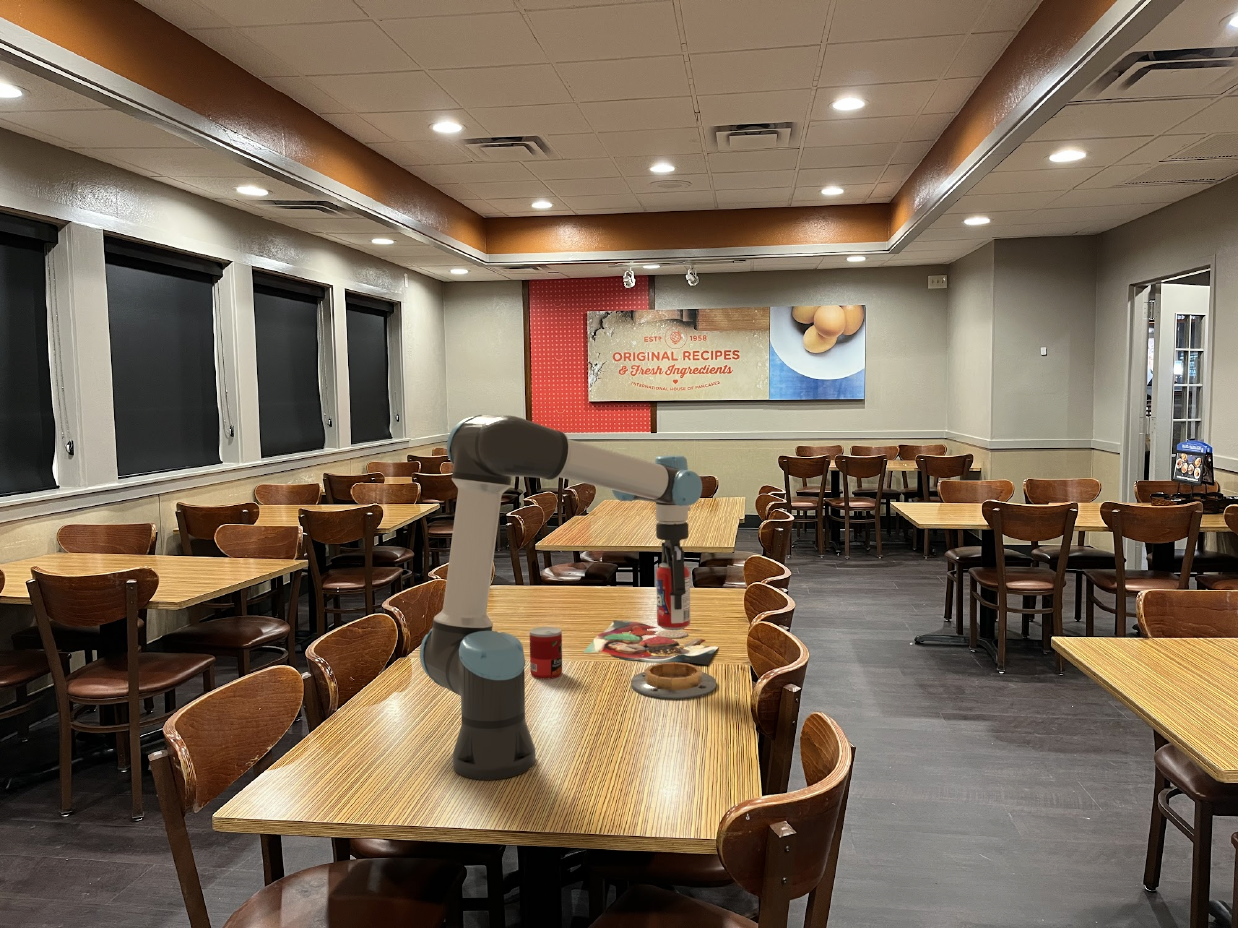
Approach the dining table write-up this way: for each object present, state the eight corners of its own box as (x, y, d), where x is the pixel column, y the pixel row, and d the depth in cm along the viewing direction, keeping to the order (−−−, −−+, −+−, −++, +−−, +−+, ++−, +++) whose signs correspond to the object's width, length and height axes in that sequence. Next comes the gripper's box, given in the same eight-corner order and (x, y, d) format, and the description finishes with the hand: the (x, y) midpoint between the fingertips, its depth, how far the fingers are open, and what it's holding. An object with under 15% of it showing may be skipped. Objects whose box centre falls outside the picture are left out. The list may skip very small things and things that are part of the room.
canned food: (557, 679, 208) (557, 635, 207) (526, 678, 209) (525, 633, 208) (566, 670, 215) (565, 627, 214) (535, 668, 217) (534, 625, 216)
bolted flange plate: (726, 696, 194) (726, 681, 194) (638, 701, 191) (638, 686, 191) (704, 670, 214) (704, 656, 214) (624, 674, 211) (624, 660, 211)
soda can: (688, 632, 197) (687, 567, 196) (654, 630, 199) (653, 566, 198) (692, 623, 205) (691, 561, 204) (659, 622, 206) (658, 560, 205)
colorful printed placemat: (577, 659, 227) (577, 652, 226) (614, 626, 260) (614, 620, 260) (707, 668, 217) (707, 660, 217) (728, 633, 251) (728, 627, 250)
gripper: (698, 527, 191) (699, 628, 192) (678, 515, 211) (679, 607, 212) (665, 528, 189) (666, 630, 191) (648, 516, 210) (649, 608, 211)
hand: (673, 617), depth 202 cm, fingers closed on soda can, 8 cm apart
